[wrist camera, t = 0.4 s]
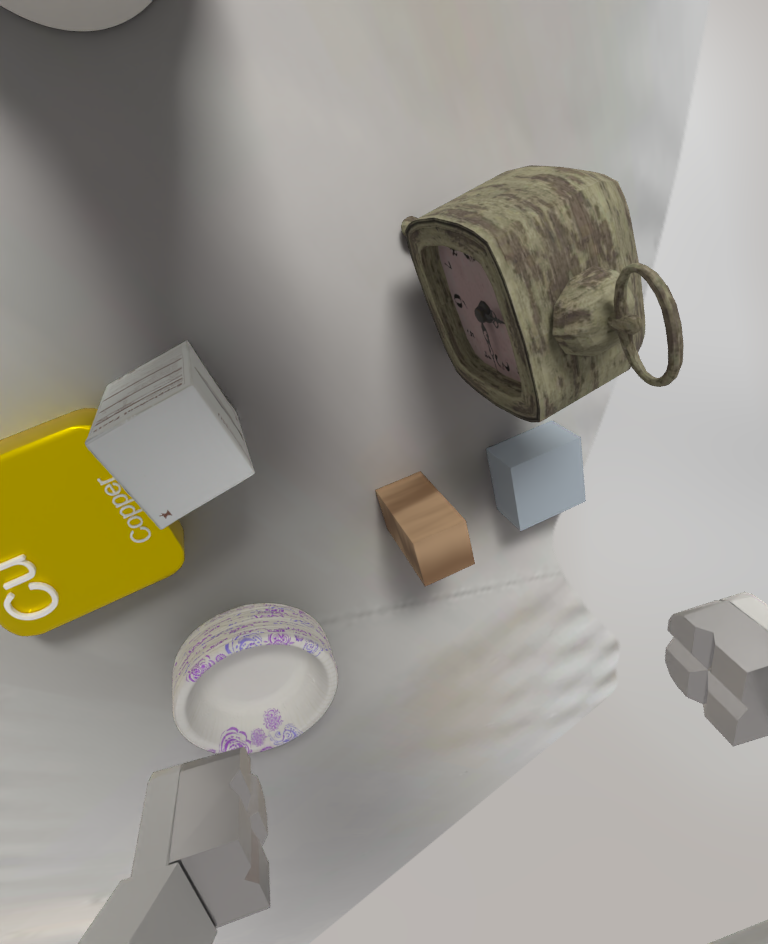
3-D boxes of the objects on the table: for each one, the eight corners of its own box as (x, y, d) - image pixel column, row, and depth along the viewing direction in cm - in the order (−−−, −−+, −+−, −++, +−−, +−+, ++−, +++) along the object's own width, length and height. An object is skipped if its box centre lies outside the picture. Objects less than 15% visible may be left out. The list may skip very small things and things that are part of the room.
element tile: (192, 540, 50) (194, 570, 46) (30, 612, 48) (17, 650, 44) (103, 397, 43) (96, 418, 39) (-95, 475, 40) (-124, 506, 36)
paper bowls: (210, 717, 60) (215, 783, 53) (144, 623, 52) (140, 686, 45) (338, 656, 62) (358, 711, 56) (293, 558, 54) (310, 608, 48)
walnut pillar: (375, 490, 54) (413, 543, 46) (420, 471, 55) (465, 520, 47) (387, 528, 57) (425, 586, 48) (430, 510, 58) (474, 563, 49)
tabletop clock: (379, 213, 43) (578, 228, 22) (475, 161, 44) (758, 129, 23) (439, 369, 51) (630, 491, 30) (520, 323, 52) (763, 409, 31)
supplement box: (239, 412, 46) (259, 477, 36) (161, 456, 46) (158, 535, 35) (188, 335, 42) (195, 382, 32) (102, 382, 42) (79, 445, 31)
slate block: (485, 448, 57) (510, 468, 53) (550, 419, 58) (580, 437, 54) (496, 508, 61) (520, 531, 57) (557, 480, 62) (585, 501, 58)
